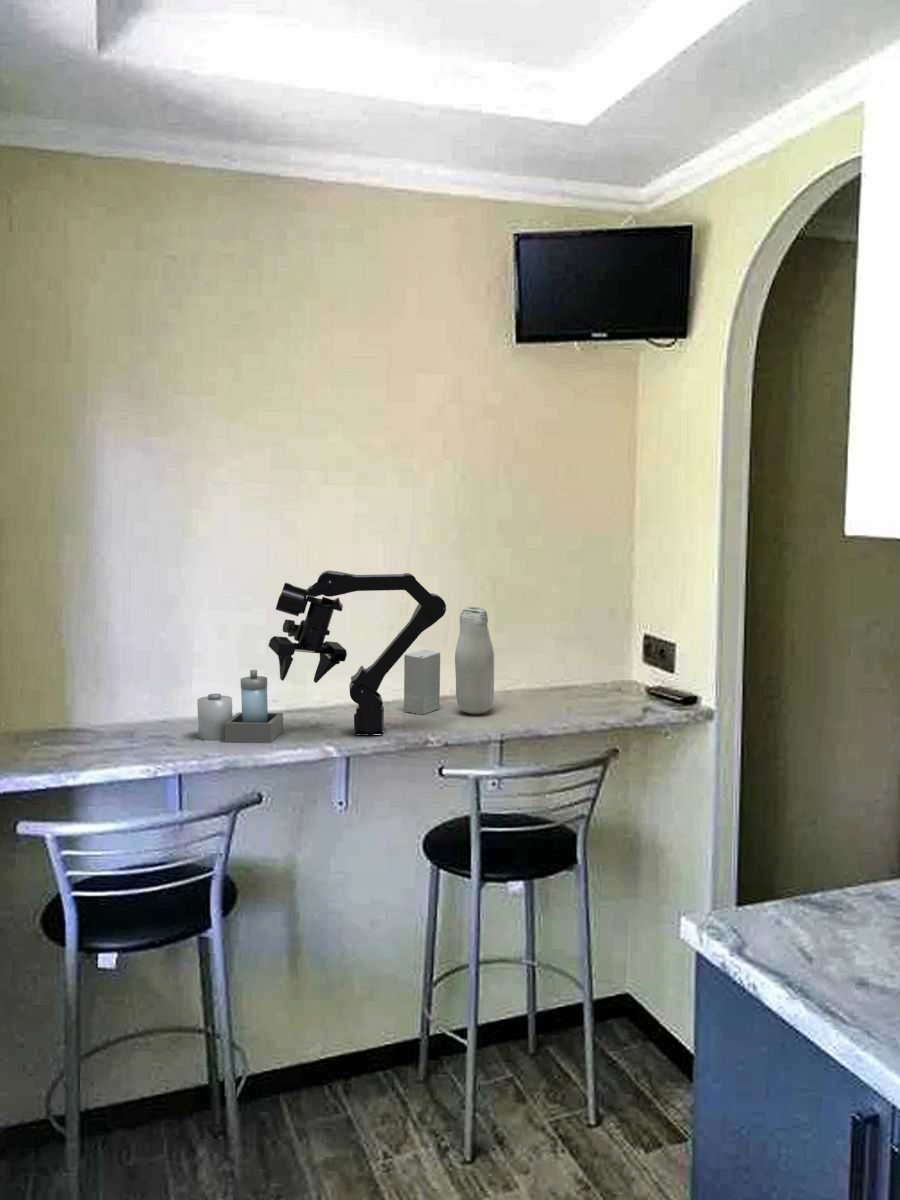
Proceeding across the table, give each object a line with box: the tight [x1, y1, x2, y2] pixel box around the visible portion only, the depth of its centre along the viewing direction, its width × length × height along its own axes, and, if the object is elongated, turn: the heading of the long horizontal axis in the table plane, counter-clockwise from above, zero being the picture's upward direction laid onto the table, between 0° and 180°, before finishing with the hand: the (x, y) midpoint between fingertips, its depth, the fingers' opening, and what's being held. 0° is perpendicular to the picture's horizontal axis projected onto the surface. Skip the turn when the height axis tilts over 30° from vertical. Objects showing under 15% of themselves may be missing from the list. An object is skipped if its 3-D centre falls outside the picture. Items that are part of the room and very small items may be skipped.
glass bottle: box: [454, 606, 495, 715], centre depth 247 cm, size 10×10×28 cm
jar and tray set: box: [197, 693, 284, 743], centre depth 226 cm, size 19×11×10 cm, turn 85°
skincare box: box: [403, 649, 441, 715], centre depth 251 cm, size 8×7×16 cm
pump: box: [239, 669, 269, 723], centre depth 225 cm, size 6×6×15 cm
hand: (298, 680), depth 228 cm, fingers open, 9 cm apart
